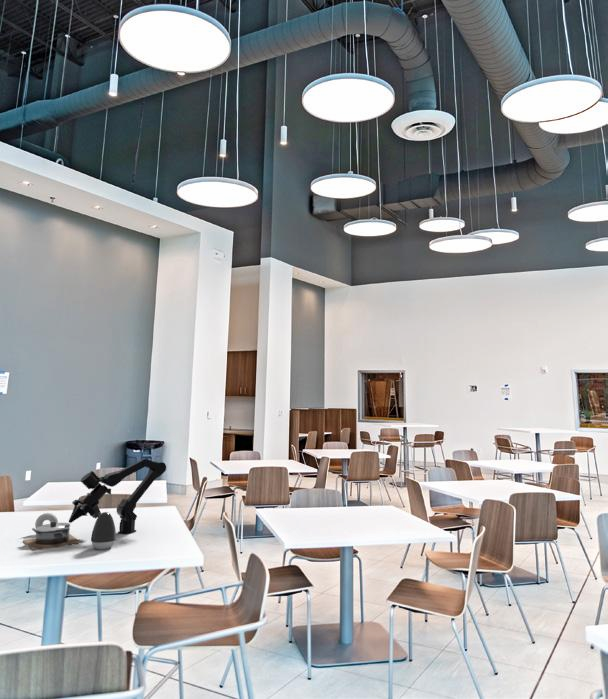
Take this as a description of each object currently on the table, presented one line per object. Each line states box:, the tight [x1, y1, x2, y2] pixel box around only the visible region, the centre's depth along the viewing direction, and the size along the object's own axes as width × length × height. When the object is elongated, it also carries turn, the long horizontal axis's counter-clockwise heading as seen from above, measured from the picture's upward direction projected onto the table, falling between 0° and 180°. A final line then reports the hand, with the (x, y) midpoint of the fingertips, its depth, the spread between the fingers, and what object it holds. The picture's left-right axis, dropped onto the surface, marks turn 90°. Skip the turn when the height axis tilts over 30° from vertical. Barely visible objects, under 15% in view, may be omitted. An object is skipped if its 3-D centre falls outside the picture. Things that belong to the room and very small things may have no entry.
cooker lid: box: [31, 521, 71, 534], centre depth 229 cm, size 15×14×3 cm
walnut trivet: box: [22, 533, 83, 551], centre depth 229 cm, size 20×20×1 cm
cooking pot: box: [35, 527, 71, 545], centre depth 229 cm, size 14×22×5 cm, turn 40°
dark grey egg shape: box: [90, 511, 117, 551], centre depth 221 cm, size 10×10×15 cm
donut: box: [34, 512, 59, 529], centre depth 246 cm, size 10×4×10 cm, turn 110°
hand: (69, 522), depth 234 cm, fingers closed
